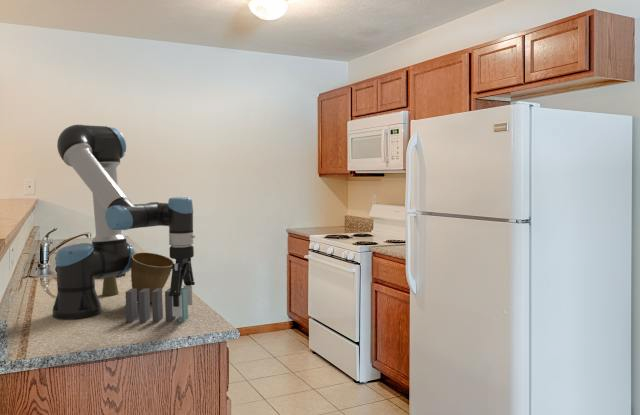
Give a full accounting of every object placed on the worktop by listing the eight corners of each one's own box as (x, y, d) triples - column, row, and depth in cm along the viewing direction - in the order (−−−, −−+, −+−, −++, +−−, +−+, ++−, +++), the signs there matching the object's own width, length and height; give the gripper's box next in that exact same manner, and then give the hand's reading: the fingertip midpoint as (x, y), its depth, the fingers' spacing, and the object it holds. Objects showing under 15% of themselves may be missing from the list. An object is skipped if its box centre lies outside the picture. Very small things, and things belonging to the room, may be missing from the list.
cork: (112, 296, 204) (111, 268, 204) (98, 295, 206) (97, 268, 205) (121, 292, 210) (120, 265, 209) (108, 292, 211) (106, 265, 211)
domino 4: (165, 322, 168) (164, 291, 168) (170, 318, 173) (169, 288, 173) (171, 322, 168) (170, 291, 168) (175, 318, 173) (174, 288, 173)
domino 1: (126, 322, 168) (125, 292, 168) (132, 318, 173) (131, 288, 173) (132, 322, 168) (131, 292, 168) (137, 318, 173) (136, 288, 173)
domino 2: (139, 322, 168) (138, 291, 168) (144, 318, 173) (143, 288, 173) (145, 322, 168) (144, 291, 168) (150, 318, 173) (149, 288, 173)
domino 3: (152, 322, 168) (151, 291, 168) (157, 318, 173) (156, 288, 173) (158, 322, 168) (157, 291, 168) (163, 318, 173) (162, 288, 173)
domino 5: (178, 322, 168) (177, 291, 168) (182, 318, 173) (181, 288, 173) (184, 322, 168) (183, 291, 168) (188, 317, 173) (187, 288, 173)
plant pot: (173, 304, 197) (182, 264, 194) (141, 311, 184) (151, 269, 181) (146, 288, 204) (155, 250, 201) (114, 294, 191) (123, 253, 188)
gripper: (182, 251, 157) (184, 321, 158) (202, 240, 182) (203, 300, 183) (157, 251, 157) (159, 321, 158) (180, 240, 182) (181, 300, 183)
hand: (182, 310), depth 171 cm, fingers open, 13 cm apart
